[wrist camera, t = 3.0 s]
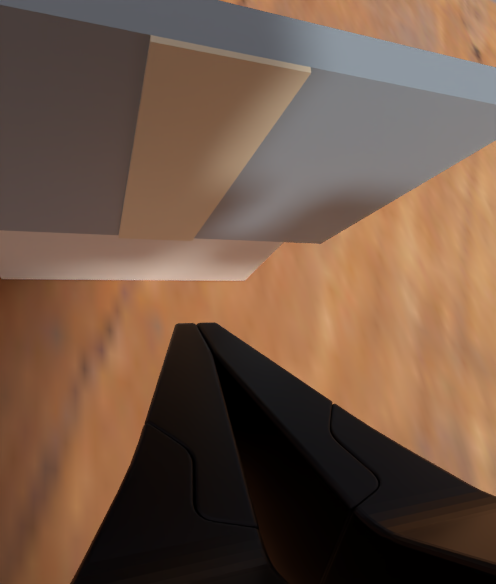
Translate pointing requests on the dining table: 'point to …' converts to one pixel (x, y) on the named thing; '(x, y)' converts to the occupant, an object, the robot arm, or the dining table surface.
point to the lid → (219, 121)
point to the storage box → (127, 257)
